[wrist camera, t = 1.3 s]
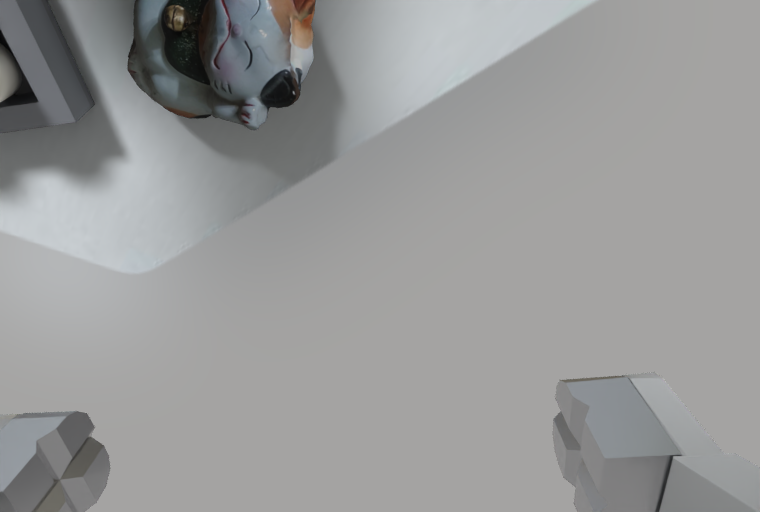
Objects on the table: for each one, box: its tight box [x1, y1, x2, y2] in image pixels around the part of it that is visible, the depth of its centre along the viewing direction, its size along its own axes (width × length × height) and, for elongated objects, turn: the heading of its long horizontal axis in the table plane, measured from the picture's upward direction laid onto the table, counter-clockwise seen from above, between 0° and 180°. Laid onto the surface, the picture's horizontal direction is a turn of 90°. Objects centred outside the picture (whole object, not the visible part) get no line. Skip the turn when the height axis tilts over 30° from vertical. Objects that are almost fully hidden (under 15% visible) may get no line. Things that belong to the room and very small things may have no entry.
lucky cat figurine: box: [128, 0, 315, 130], centre depth 37 cm, size 15×12×14 cm
